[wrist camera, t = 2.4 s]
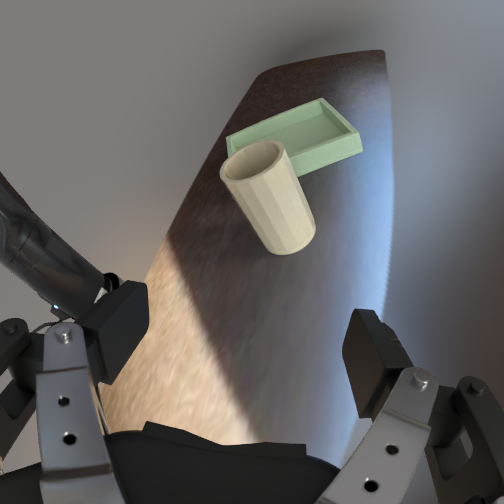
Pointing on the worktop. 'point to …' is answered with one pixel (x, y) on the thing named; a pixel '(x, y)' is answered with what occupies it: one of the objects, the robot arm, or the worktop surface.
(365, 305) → the worktop surface
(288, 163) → the cup
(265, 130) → the tray
